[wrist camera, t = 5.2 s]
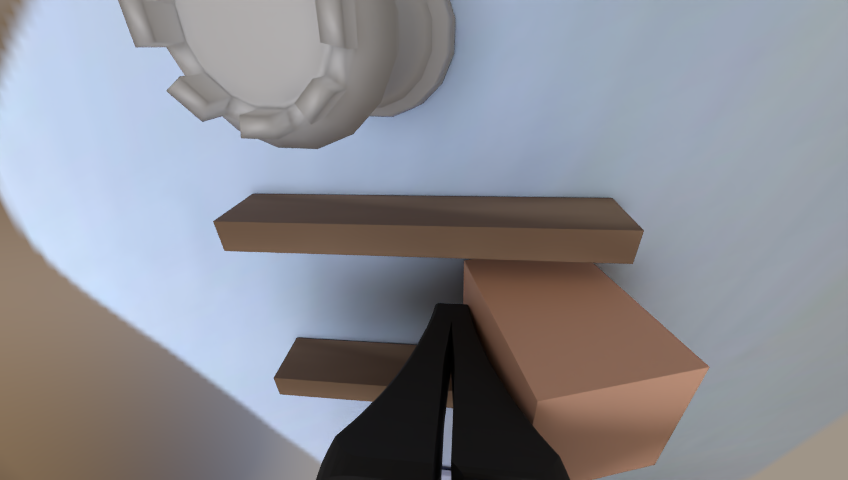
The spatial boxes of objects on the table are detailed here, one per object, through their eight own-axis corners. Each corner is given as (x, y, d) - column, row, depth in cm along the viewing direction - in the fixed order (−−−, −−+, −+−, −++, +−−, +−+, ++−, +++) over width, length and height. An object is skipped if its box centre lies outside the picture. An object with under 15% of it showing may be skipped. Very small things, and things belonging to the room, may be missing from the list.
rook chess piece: (473, -36, 9) (499, -261, 2) (438, 126, 12) (400, 242, 5) (317, -74, 9) (-99, -410, 2) (312, 95, 12) (90, 170, 5)
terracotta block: (555, 328, 16) (654, 464, 10) (462, 344, 15) (518, 497, 10) (573, 245, 13) (709, 367, 8) (464, 260, 13) (537, 401, 8)
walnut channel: (566, 370, 17) (580, 418, 15) (301, 353, 18) (279, 394, 16) (612, 198, 12) (643, 230, 10) (252, 193, 14) (213, 221, 12)
